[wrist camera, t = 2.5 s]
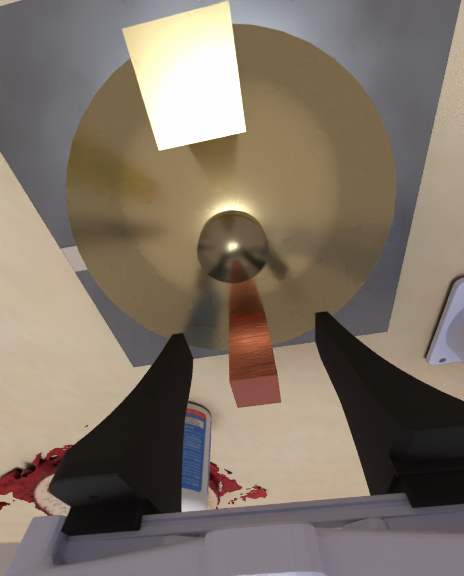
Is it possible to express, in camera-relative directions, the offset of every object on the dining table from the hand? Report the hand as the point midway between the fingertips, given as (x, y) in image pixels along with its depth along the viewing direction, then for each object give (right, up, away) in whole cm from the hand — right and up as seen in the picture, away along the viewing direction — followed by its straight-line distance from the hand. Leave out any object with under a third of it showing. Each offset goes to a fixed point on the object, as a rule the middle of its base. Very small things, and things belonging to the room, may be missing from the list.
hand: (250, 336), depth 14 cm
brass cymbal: (-1, +6, -1) cm, 6 cm away
